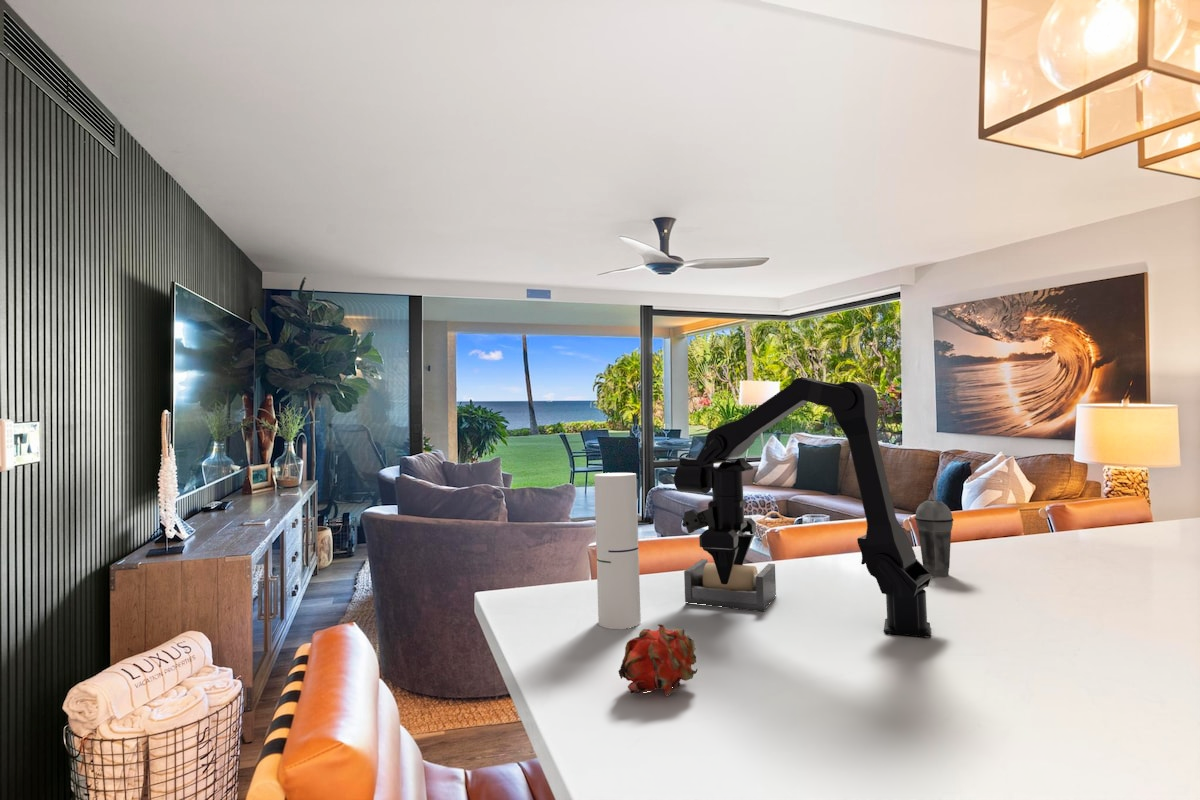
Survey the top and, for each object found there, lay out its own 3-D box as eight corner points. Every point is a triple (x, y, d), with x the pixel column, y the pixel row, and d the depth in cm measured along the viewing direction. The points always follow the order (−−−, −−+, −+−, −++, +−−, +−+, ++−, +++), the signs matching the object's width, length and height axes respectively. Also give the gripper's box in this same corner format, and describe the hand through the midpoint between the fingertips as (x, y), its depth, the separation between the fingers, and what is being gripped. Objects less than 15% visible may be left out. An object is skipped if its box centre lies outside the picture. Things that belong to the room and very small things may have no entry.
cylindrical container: (637, 629, 108) (632, 475, 109) (594, 628, 109) (590, 476, 110) (643, 617, 115) (639, 472, 116) (603, 615, 116) (598, 472, 117)
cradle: (776, 595, 126) (774, 564, 126) (764, 611, 116) (762, 576, 116) (702, 589, 132) (701, 559, 132) (685, 603, 122) (684, 571, 122)
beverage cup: (909, 573, 140) (905, 478, 141) (933, 569, 144) (929, 476, 144) (939, 580, 134) (935, 481, 135) (964, 575, 137) (959, 478, 138)
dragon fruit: (703, 691, 87) (629, 730, 80) (665, 640, 92) (593, 673, 86) (722, 651, 82) (645, 689, 76) (681, 600, 88) (606, 631, 81)
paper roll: (760, 591, 125) (759, 562, 124) (754, 602, 120) (752, 571, 119) (710, 586, 129) (708, 558, 128) (701, 597, 124) (699, 568, 123)
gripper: (700, 488, 137) (703, 565, 136) (670, 499, 120) (673, 586, 119) (755, 489, 132) (758, 568, 131) (731, 501, 115) (734, 591, 114)
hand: (730, 578), depth 124 cm, fingers open, 9 cm apart
